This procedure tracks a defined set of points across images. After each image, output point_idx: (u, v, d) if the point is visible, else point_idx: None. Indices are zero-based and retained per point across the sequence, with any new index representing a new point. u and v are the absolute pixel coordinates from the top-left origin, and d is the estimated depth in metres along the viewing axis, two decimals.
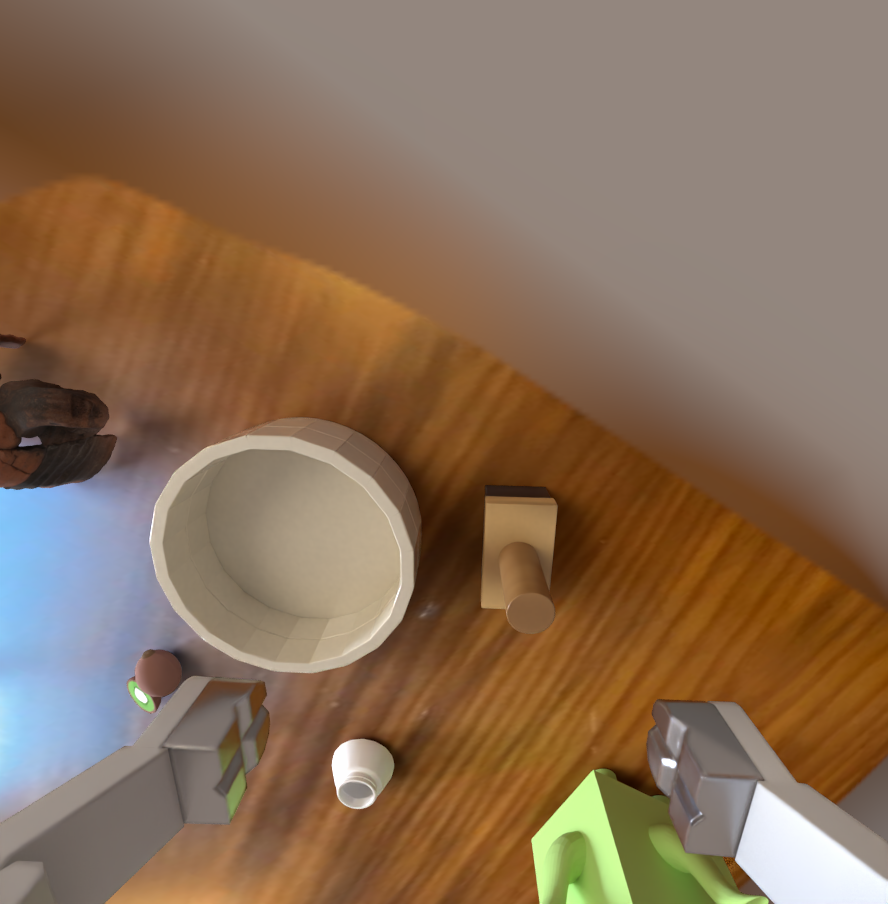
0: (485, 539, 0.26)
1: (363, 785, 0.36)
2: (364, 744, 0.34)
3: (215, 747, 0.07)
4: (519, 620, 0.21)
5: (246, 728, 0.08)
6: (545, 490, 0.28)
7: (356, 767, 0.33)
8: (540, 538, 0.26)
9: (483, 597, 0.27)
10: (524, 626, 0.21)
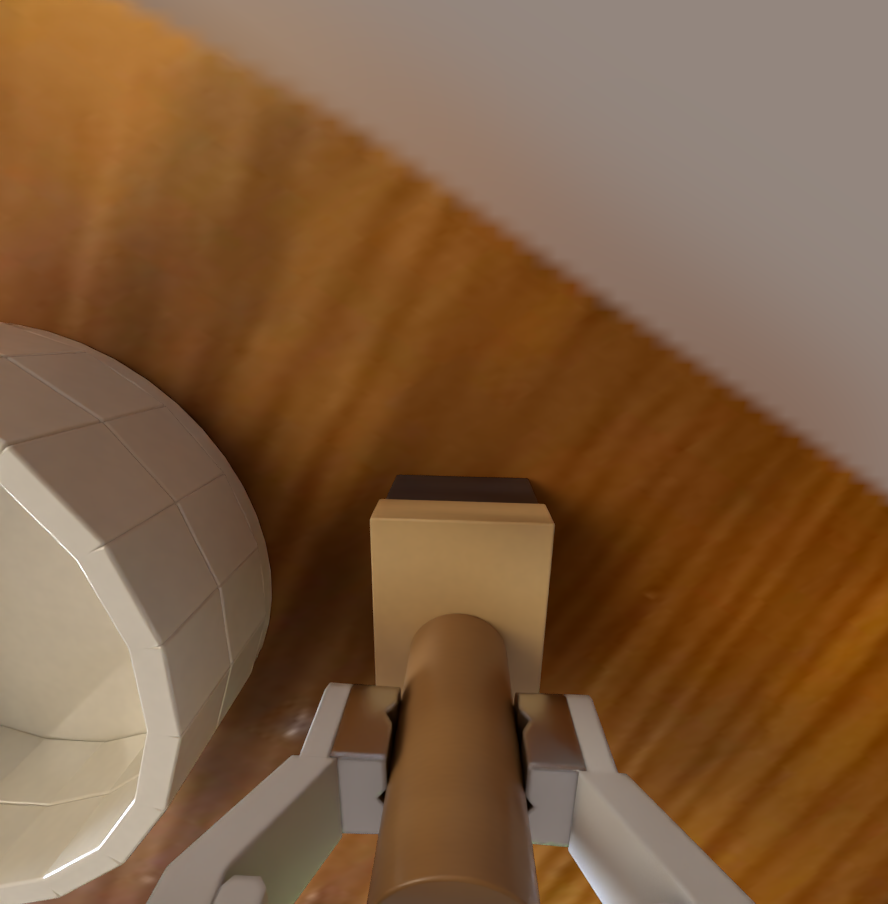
0: (375, 607, 0.10)
1: None
2: None
3: (383, 755, 0.07)
4: None
5: (392, 736, 0.08)
6: (528, 487, 0.12)
7: None
8: (511, 606, 0.10)
9: None
10: None
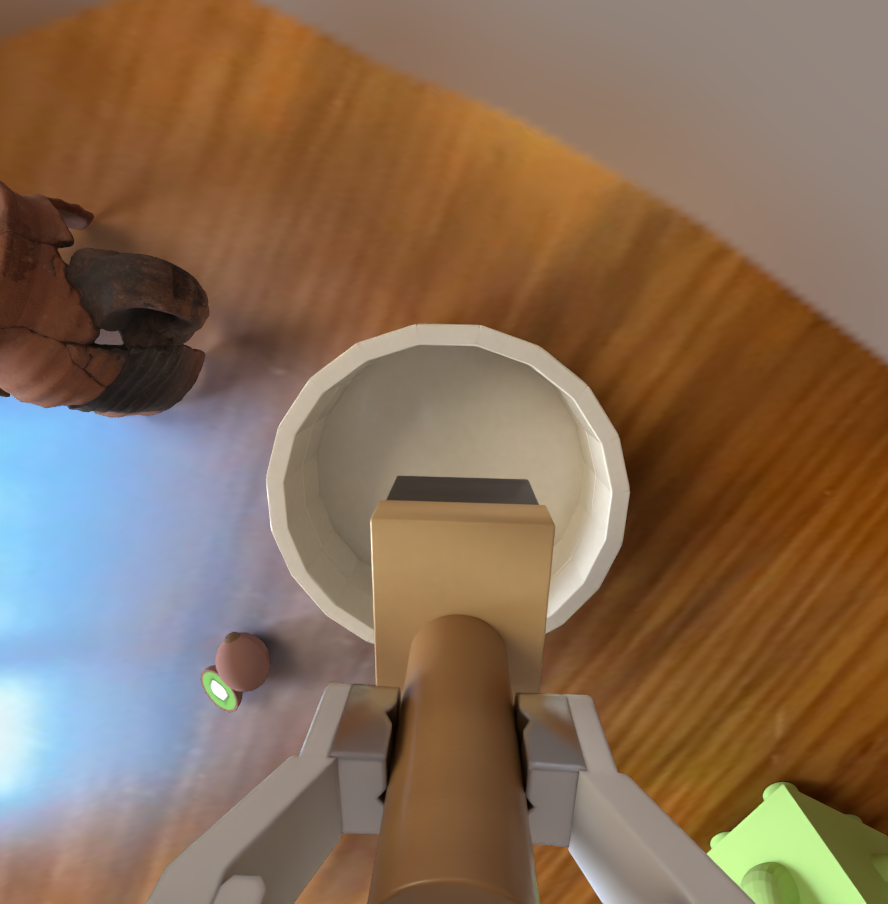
0: (375, 608, 0.10)
1: None
2: None
3: (383, 755, 0.07)
4: None
5: (392, 736, 0.08)
6: (528, 488, 0.12)
7: None
8: (511, 607, 0.10)
9: None
10: None
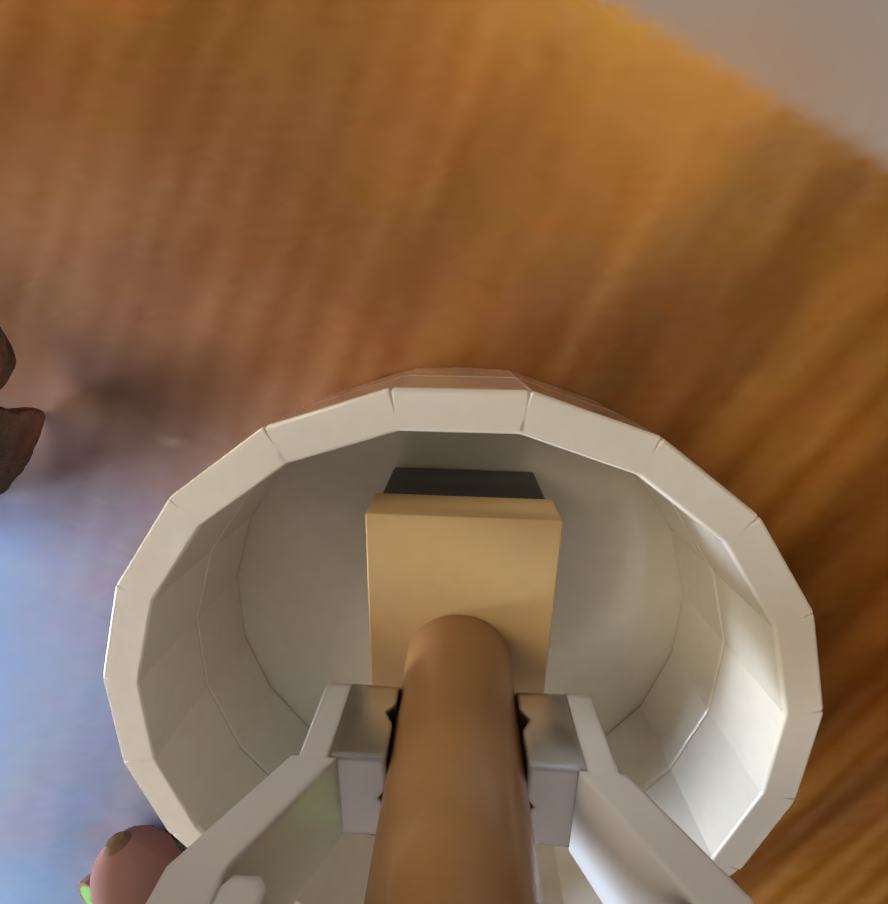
0: (370, 607, 0.10)
1: None
2: None
3: (383, 755, 0.07)
4: None
5: None
6: (533, 481, 0.11)
7: None
8: (515, 607, 0.10)
9: None
10: None
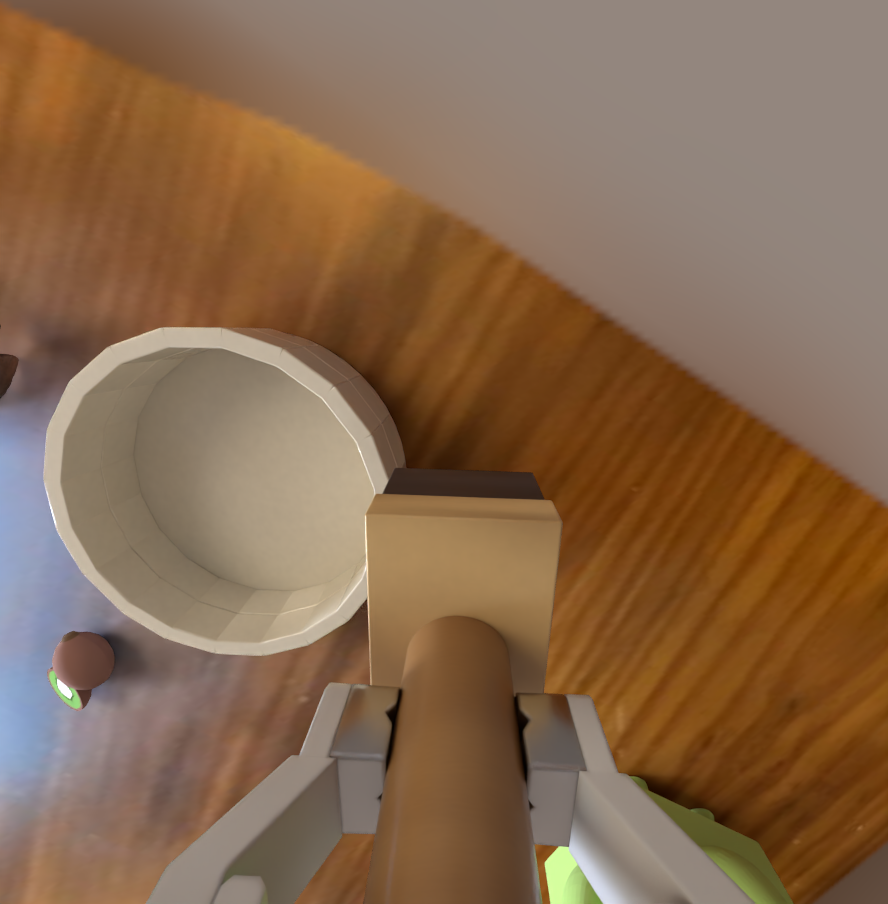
0: (370, 608, 0.10)
1: None
2: None
3: (383, 755, 0.07)
4: None
5: None
6: (533, 481, 0.11)
7: None
8: (514, 608, 0.10)
9: None
10: None
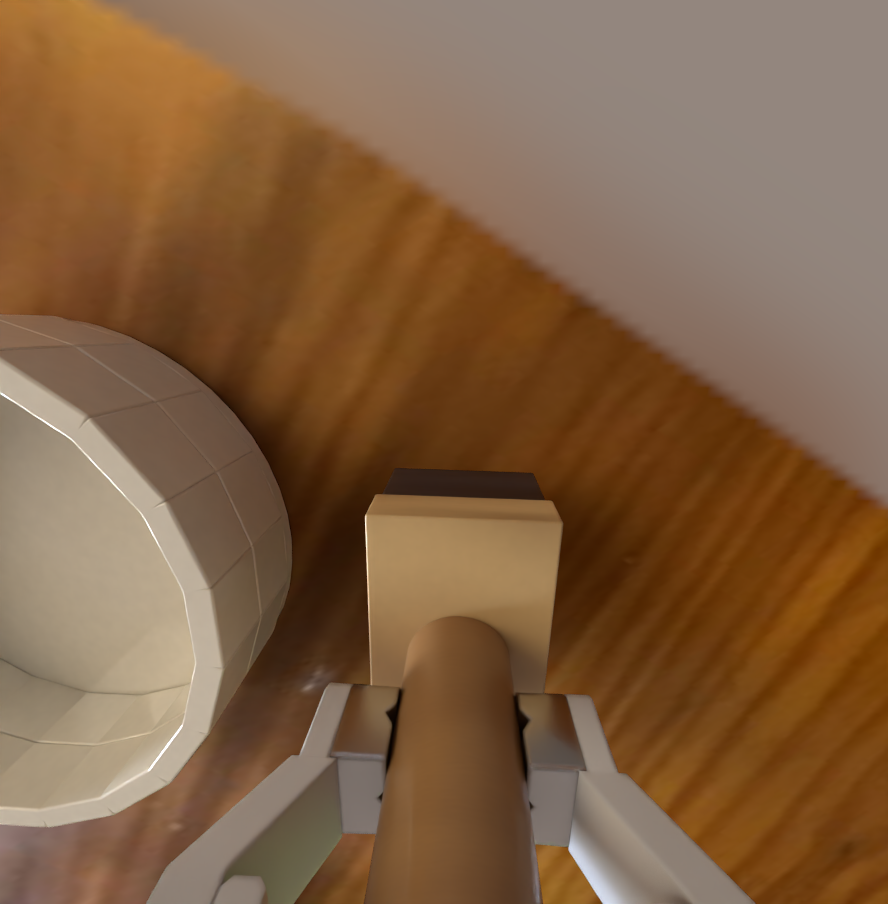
0: (370, 608, 0.10)
1: None
2: None
3: (382, 756, 0.07)
4: None
5: None
6: (533, 482, 0.11)
7: None
8: (515, 608, 0.10)
9: None
10: None
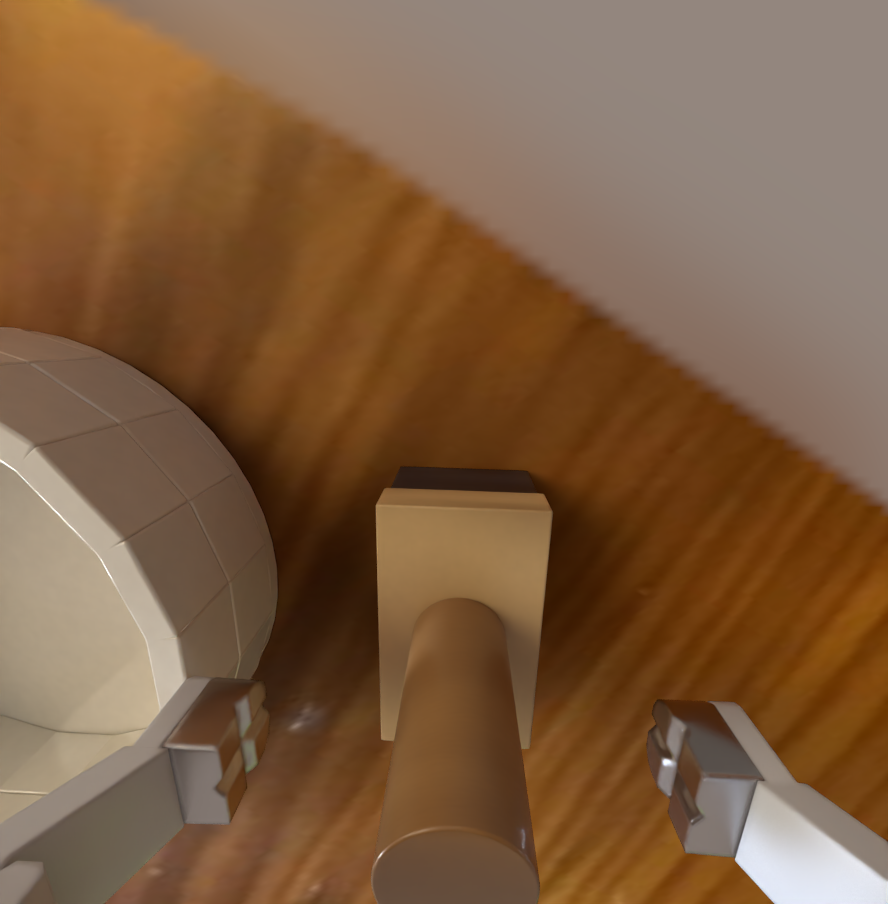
0: (379, 591, 0.11)
1: None
2: None
3: (214, 747, 0.07)
4: None
5: (246, 728, 0.08)
6: (527, 478, 0.12)
7: None
8: (510, 590, 0.11)
9: (383, 718, 0.12)
10: None
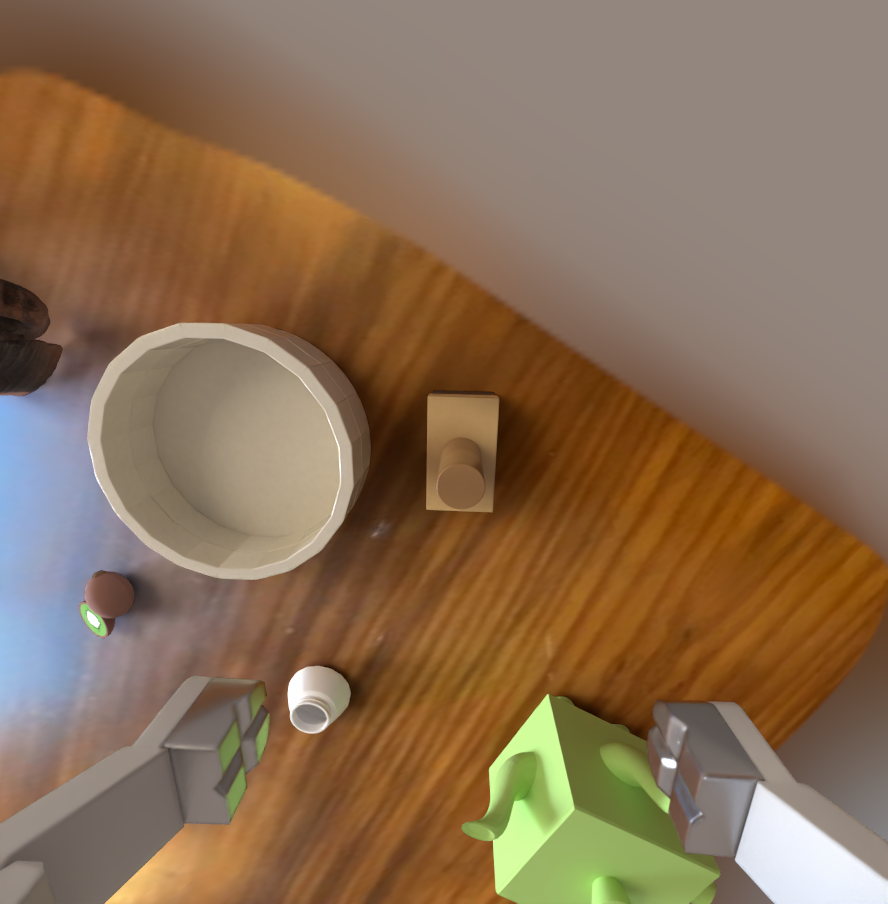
0: (428, 435, 0.26)
1: (320, 715, 0.36)
2: (319, 670, 0.34)
3: (214, 747, 0.07)
4: (449, 494, 0.21)
5: (246, 728, 0.08)
6: (492, 393, 0.27)
7: (309, 691, 0.33)
8: (483, 434, 0.25)
9: (427, 498, 0.27)
10: (454, 501, 0.21)
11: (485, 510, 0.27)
